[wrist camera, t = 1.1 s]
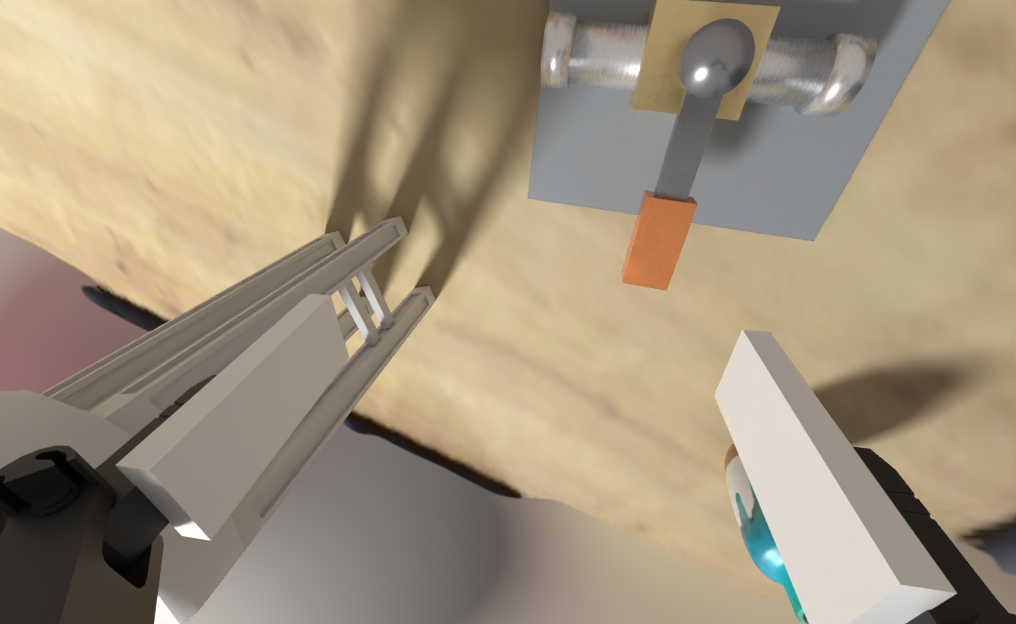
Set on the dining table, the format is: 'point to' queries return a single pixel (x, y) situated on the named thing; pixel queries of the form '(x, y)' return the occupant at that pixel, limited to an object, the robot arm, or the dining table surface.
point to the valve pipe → (656, 46)
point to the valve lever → (686, 148)
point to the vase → (757, 529)
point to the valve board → (728, 127)
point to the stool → (205, 352)
